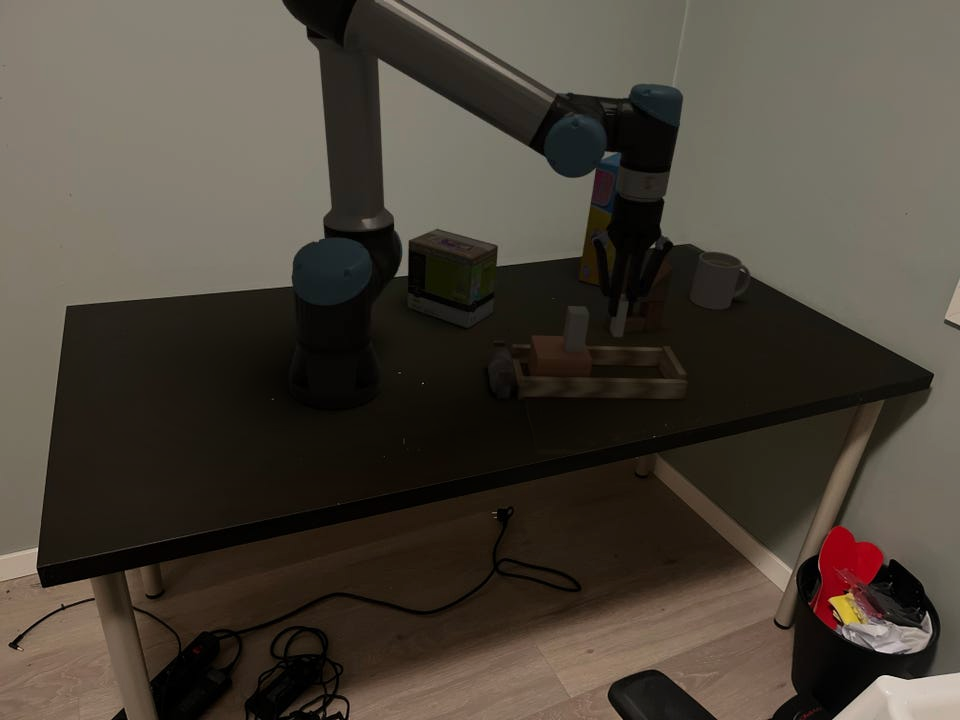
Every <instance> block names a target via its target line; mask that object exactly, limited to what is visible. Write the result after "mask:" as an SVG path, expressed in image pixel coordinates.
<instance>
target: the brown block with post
mask: <svg viewBox="0 0 960 720" xmlns="http://www.w3.org/2000/svg"><path fill="white" fill-rule="evenodd" d="M566 309H567V310H566V316H565V323H564V325H565V326H564V329H563V335H530V342H529V345H530V352H529V360H528V363H527V366H528V367H527V368H528V371H529V374H530V375H529V376H538V377H588V378H590V376H591V371H592V367H593V365H592V358H591V356H590V353H589V351H588V348H587V346H588V345H587V344H586V337H587V332H588V327H589V326H588V325H589V319H590V312H589V311H588V309H587V307H586V306H579V305H578V306H577V305H576V306H575V305H568V306H567V308H566Z"/></svg>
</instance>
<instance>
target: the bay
mask: <svg viewBox="0 0 960 720" xmlns="http://www.w3.org/2000/svg"><path fill="white" fill-rule="evenodd" d="M492 343H493V344H492V347H491V348H490V349H488V351H487V352H486V354H485V360H486V361H485V362H486V366H487V372H488V377H489V384H490V389H491V391H492V392H493V393H495V394H496V399H510V397H511V394H512V393H514V391H516V395H517V399H518V401H519V402H520V401H521V402H522V401H523V402H525V401H527V399H526V397H531V398H532V397H534V398H535V397H536V398H537V397H539V398H544V397H546V398H547V397H548V398H589V399H590V398H593V399H594V398H596V399H597V398H599V399H600V398H601V399H602V398H603V399H650V400H651V399H654V400H655V399H656V400H657V399H660V400H664V399H665V400H685V396H686V392H687V388H688V381H687V380H686V379H687V375H688V374H687V372H686V371H685V369H684V368H683V366H682V364H681V362H680V361H679V360H678V358H677V356H676V355H675V353H674V352H673V350H672V349H671V347H670V346H669V345H668V346H667V345H663V346H662V347H649V346H648V347H644V346H641V347H640V346H605V345H603V346H597V345H595V346H594V345H586V346H587V348H588V351H589V353H590V356H591V358H592V365H591V366H594V365H597V366H630V367H631V366H632V367H633V366H634V367H658V368H659V370H660V372H661V374H662V376H663V378H634V377H633V378H632V377H631V378H629V377H624V378H623V377H589V378H588V377H538V376H531V375H529V376H528V375H524V374H523V370H522V367H521V364H528V360H529V352H530V344H523V343H522V344H519V343H517V344H514V343H512V345H511V351H510V350H509V348H507V347H506V340H498V339H497V340H496V339H495V340H493V342H492Z"/></svg>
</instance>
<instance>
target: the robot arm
mask: <svg viewBox="0 0 960 720" xmlns="http://www.w3.org/2000/svg"><path fill="white" fill-rule="evenodd" d="M281 2H282V4H283V6H284V7H285V8H286V9H287V11H288V12H289V13H290V14H291V16H292V17H293V18H294V19H296V21H298V22H299V23H300V24H302V25H303V26H305V27H306V29H305V30H306V37H307V38H306V39H307V40H308V41H309V42H310V43H311V44H312V45H313V46H314V47H315V48H316V50H317V51H318V55H319V56H318V57H319V68H320V70H319V71H320V78H321V79H320V81H321V92H322V106H323V107H322V108H323V117H324V130H325V132H324V133H325V142H326V145H325V146H326V154H327V156H326V157H327V166H328V167H327V168H328V180H329V191H330V193H329V194H330V206H331V207H330V208H331V209H330V210H329V211H328V212H327V213H326V214H325V216H323V219H322V223H323V224H322V225H323V236H324V238H319V239H318V241H311V242H308V243H307V244H305V245H304V246H302V247H301V248H299V250H298V251H297V252H296V253H295V255H294V256H293V261H292V274H291V284H292V291H293V301H294V315H295V327H296V328H295V331H296V347H295V351H294V354H293V356H292V357H293V358H292V360H291V364H290V367H289V370H288V374H287V375H288V376H287V377H288V388H289V392H290V394H291V395H292V396H293V397H294V398H295V399H296V400H297V401H299V402H300V403H302V404H305V405H307V406H308V407H309V406H310V407H314V408H316V409H317V408H318V409H327V410H338V409H339V410H342V409H349V408H352V407H357V406H360V405H363V404H365V403H367V402H370V401H372V399H374V398H375V397H376V396H377V395H378V394H379V393H380V391H381V389H382V387H383V369H382V366H381V363H380V361H379V358H378V356H377V353H376V351H375V348H374V344H373V342H372V308H373V305H374V303H376V301H377V299H378V298H379V297H380V296H381V294H382V293H383V291H384V290H385V289H386V288H387V286H388V285H389V284H390V282H392V281H393V280H394V279H395V277H396V275H397V273H398V272H399V269H400V266H401V263H402V258H403V244H402V240H401V238H400V235H399V234H398V231H396V230H395V217H394V215H393V213H391V212H390V211H389V210H388V209H387V208H386V207H385V193H384V167H383V146H382V145H383V143H382V122H381V121H382V120H381V119H382V118H381V99H380V98H381V97H380V96H381V95H380V76H379V60H380V61H382V62H383V63H385V64H387V65H388V66H390V67H392V68H394V69H395V70H397V71H399V72H401V73H402V74H404V75H406V76H407V77H409V78H411V79H412V80H414V81H416V82H418V84H419V83H420V85H422V86H424V87H426V88H428V89H429V90H431V91H432V92H434V93H436V94H438V95H440V96H441V97H442V98H445V99H446V100H448V101H450V102H451V103H453V104H455V105H457V106H458V107H460V108H462V109H463V110H465V111H467V112H469V113H470V114H472V115H473V116H475V117H476V118H479V119H480V120H482V121H484V122H486V123H487V124H489V125H491V126H493V127H494V128H496V129H498V130H499V131H501V132H503V133H504V134H506V135H507V136H510V137H511V138H512V139H514V140H516V141H518V142H519V143H522V144H523V145H525V146H526V147H528V148H530V149H531V150H533V151H534V152H535V153H537V154H539V155H540V156H542V157H544V158H545V159H546V161H547V163H548V165H549V166H550V168H551V169H552V170H553V171H554V172H556V174H558V175H560V176H561V177H564V178H569V179H578V178H582V177H585V176H588V175H589V174H591V173H593V171H594V170H596V167H597V166H598V165H599V164H600V162H601V160H602V159H604V157H605V153H606V152H607V153H613V154H616V153H621V158H620V165H619V171H618V177H617V182H616V190H617V191H618V192H617V193H616V194H615V196H614V202H613V209H612V215H611V221H610V223H609V225H608V226H607V228H606V232H604V233H602V234H600V235H598V236H597V235H593V236H592V237H591V241H592V243H593V245H594V247H595V249H596V258H597V267H598V277H599V285H598V286H599V287H598V288H599V290H600V292H601V294H602V295H603V296H604V297H608V298H609V299H608V305H607V313H608V314H609V316H610V317H612V321H611V327H610V330H611V332H612V333H611V332H610V333H611V335H612V336H613V338H623V337H624V333H625V332H624V326H625V321H626V317H631V316H632V313H633V312H634V306H635V304H636V303H635V302H636V301H637V298H639V297H646V296H647V295H648V293H649V291H650V288H651V286H652V284H653V282H654V280H655V277H656V275H657V273H658V271H659V269H660V266H661V264H662V262H663V261H665V258H666V256H667V255H668V254H669V253H670V251H671V250H673V248H674V243H673V242H672V241H671V239H670V238H669V237H667V236H664V235H663V234H662V232H663V231H662V227H661V222H662V217H663V212H664V207H665V200H664V198H663V197H665V196H666V195H667V190H668V185H669V179H670V174H671V168H672V164H673V158H674V154H675V149H676V145H677V140H678V136H679V131H680V126H681V116H682V109H683V104H684V103H683V102H684V95H683V94H682V92H681V91H680V90H679V89H678V88H676V87H674V86H669V85H665V84H656V83H650V84H649V83H638V84H635V85H633V86H632V87H631V89H630V93H629V94H628V97H623V98H620V97H618V98H617V97H616V98H615V97H609V96H608V97H606V96H600V95H597V96H596V95H588V94H578V93H574V92H567V93H563V92H562V93H561V92H556V91H554V90H552V89H550V88H549V87H547V86H546V85H544V84H543V83H541V82H539V81H538V80H535V79H534V78H532V77H531V76H529V75H528V74H526V73H524V72H522V71H521V70H519V69H518V68H516V67H514V66H513V65H511V64H509V63H508V62H507V61H504V60H502V59H501V58H499V57H498V56H496V55H494V54H493V53H491V52H490V51H488V50H486V49H484V48H483V47H481V46H480V45H477V44H476V43H474V41H472V40H470V39H468V38H466V37H465V36H463V35H461V34H459V33H458V32H456V31H455V30H453V29H451V28H449V27H448V26H446V25H444V24H443V23H441V22H439V21H438V20H437V19H435V18H433V17H431V16H429V14H427V13H424V12H423V11H421V10H420V9H418V8H416V7H415V6H413V5H412V4H409V3H408V2H407V1H405V0H281ZM609 239H610V240H611V242H612V244H613V245H614V247H615V249H616V251H615V255H616V256H615V262H614V269H613V275H612V276H611V280H610V278H609V274H608V264H607V254H606V251H605V248H607V246H608V240H609ZM653 245H654V246H655V247H654V248H653V250H652V252H651V254H650V257H649V258H648V261H647V263H646V266H645V268H644V269H643V273H642V268H643V263H644V261H645V257H646V253H647V252H648V251H649V250H650V249H651V248H652V246H653ZM629 254H631V261H630V267H629V273H628V278H627V284H626V290H625V293H626V296H625V295H621V292H622V286H623V280H624V275H625V269H626V263H627V261H628V257H629ZM641 273H642V275H641Z"/></svg>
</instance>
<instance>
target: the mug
mask: <svg viewBox="0 0 960 720" xmlns="http://www.w3.org/2000/svg"><path fill="white" fill-rule="evenodd" d="M698 256H699V257H698V261H697V266H696V269H695V274H694V278H693V281H692V285H691V290H690V295H689V300H690V301H691V302H692V303H693V304H695V305H697V306H698V307H702V308H705V309H709V310H715V311H716V310H718V311H719V310H720V311H721V310H726V309H729V308H730V307H731V305H732V302H733V298H738V297H739V296H741V295H742V294H743V293H744V292H746V290H747V289H748V287H749V285H750V282H751V272H750V270H749V268H747V267H746V266H745V265H744V264H743V263H742V260H741V259H740V258H737V257H736V256H735V255H732V254H728V253H725V252H721V251H720V252H719V251H705V252H702V253H699V255H698ZM741 270H743V271H744V274H745V278H744V282H743V284H742V286H741V287H740V288H739V289H738V290H736V287H737V283H738V279H739V276H740V272H741Z"/></svg>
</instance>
